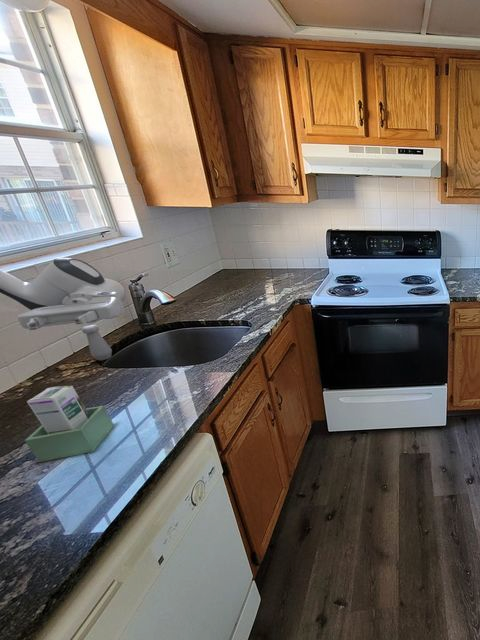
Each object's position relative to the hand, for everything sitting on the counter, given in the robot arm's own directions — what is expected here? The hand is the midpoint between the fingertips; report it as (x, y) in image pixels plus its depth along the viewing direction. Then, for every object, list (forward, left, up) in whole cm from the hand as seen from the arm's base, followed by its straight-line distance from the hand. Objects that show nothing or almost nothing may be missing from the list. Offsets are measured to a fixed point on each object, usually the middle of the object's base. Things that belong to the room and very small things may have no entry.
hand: (55, 324), depth 91 cm
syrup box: (-8, -8, -28) cm, 30 cm away
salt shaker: (+18, +44, -28) cm, 56 cm away
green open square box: (-9, -9, -28) cm, 30 cm away
